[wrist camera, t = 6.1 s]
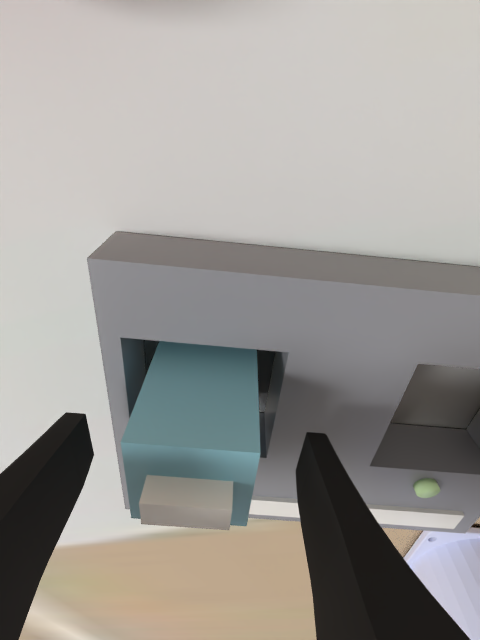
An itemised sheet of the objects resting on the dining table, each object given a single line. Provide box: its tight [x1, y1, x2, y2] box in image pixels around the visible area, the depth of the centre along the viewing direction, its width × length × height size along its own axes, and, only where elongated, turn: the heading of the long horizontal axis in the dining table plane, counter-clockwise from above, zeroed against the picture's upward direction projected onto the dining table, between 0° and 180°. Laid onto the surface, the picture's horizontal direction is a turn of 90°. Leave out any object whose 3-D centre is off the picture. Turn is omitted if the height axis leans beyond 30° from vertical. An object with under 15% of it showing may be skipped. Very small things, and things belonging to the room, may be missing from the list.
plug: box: [121, 341, 260, 530], centre depth 12 cm, size 4×4×7 cm
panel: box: [87, 231, 480, 533], centre depth 14 cm, size 13×17×3 cm
